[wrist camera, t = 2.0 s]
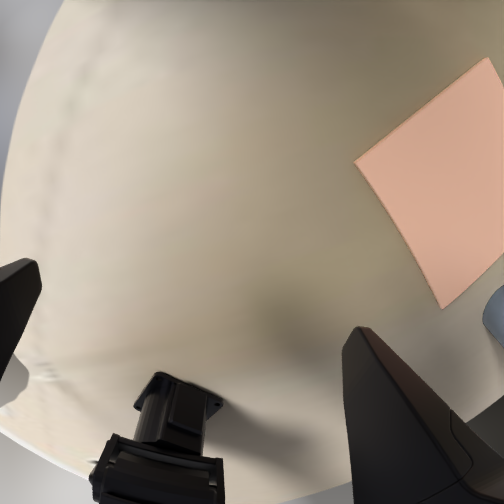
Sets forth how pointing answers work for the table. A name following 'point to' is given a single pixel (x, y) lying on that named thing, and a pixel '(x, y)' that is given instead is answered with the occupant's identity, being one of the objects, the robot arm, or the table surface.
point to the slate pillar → (495, 315)
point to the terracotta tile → (447, 181)
